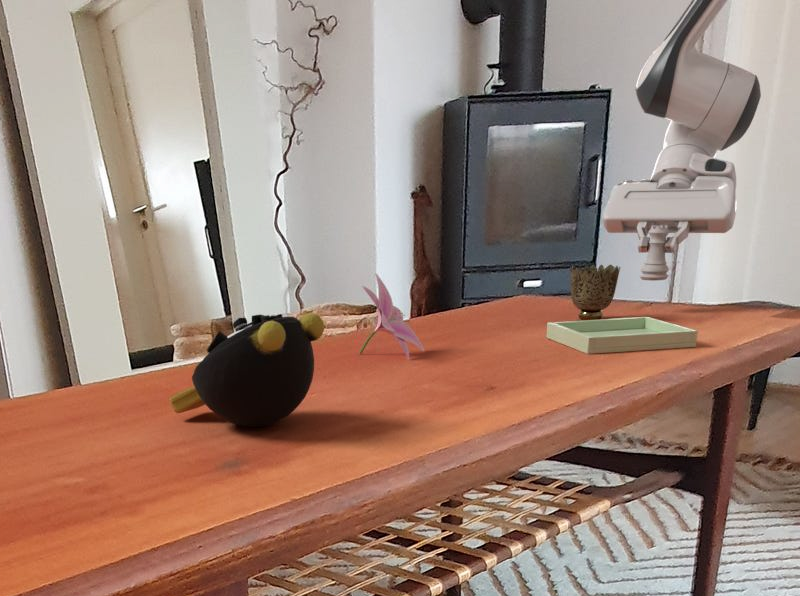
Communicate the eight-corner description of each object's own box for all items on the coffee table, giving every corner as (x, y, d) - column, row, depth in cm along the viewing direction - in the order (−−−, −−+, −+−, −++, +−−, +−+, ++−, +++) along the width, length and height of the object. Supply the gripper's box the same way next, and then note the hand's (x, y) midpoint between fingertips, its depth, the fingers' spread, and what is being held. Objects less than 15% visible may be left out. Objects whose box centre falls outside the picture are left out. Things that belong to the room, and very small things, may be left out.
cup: (563, 316, 156) (567, 264, 153) (610, 316, 156) (615, 263, 152) (569, 324, 150) (573, 269, 146) (618, 323, 149) (623, 268, 145)
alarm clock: (263, 439, 107) (318, 308, 102) (288, 480, 95) (351, 334, 89) (163, 400, 103) (214, 262, 98) (174, 438, 90) (234, 282, 85)
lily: (370, 374, 124) (408, 306, 120) (313, 329, 129) (348, 262, 125) (421, 388, 133) (458, 325, 129) (366, 345, 139) (400, 283, 134)
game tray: (646, 331, 142) (647, 316, 141) (695, 347, 130) (698, 330, 129) (546, 337, 139) (547, 322, 138) (587, 354, 127) (588, 337, 126)
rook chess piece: (634, 279, 156) (639, 226, 152) (647, 277, 159) (652, 224, 155) (660, 281, 153) (666, 226, 149) (673, 278, 156) (679, 224, 152)
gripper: (612, 166, 159) (588, 235, 156) (744, 162, 149) (721, 236, 146) (618, 195, 164) (594, 262, 161) (745, 193, 154) (723, 265, 151)
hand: (656, 250), depth 153 cm, fingers closed on rook chess piece, 3 cm apart
